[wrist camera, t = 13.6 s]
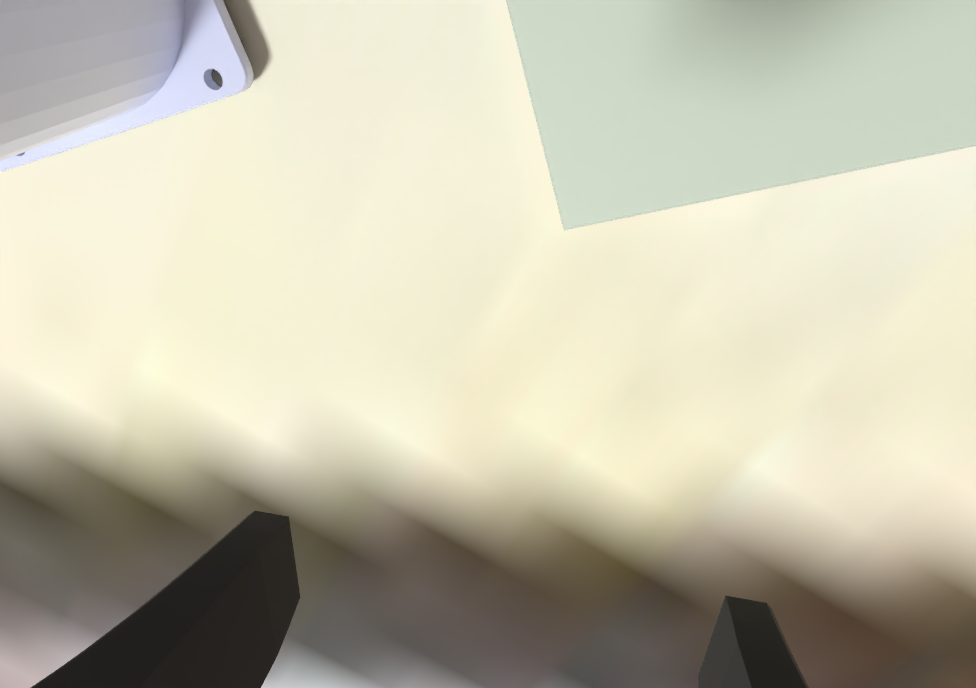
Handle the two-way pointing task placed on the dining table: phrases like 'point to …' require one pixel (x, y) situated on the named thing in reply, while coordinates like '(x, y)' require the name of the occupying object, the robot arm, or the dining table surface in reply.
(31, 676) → the dining table surface
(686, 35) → the sliding lid
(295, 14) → the dining table surface
